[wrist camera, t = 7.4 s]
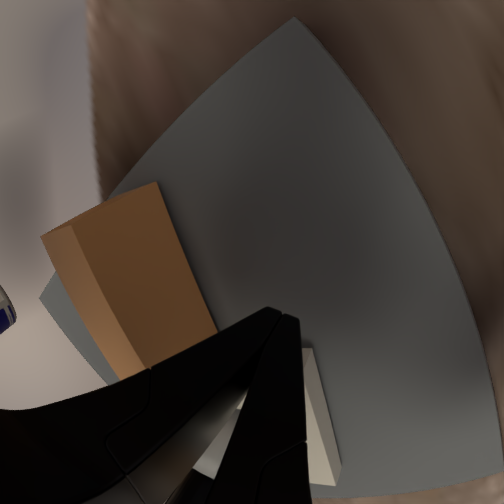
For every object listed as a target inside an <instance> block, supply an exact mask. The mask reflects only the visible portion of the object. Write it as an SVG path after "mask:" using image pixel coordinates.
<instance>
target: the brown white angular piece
mask: <svg viewBox="0 0 504 504" xmlns="http://www.w3.org/2000/svg"><path fill="white" fill-rule="evenodd" d="M41 239H42V241H43V244H44V245H45V248H46V250H47V253H48V255H49V257H50V259H51V261H52V263H53V265H54V267H55V270H56V272H57V274H58V276H59V278H60V280H61V282H62V284H63V286H64V288H65V290H66V292H67V293H68V295H69V297H70V299H71V301H72V303H73V305H74V306H75V308H76V310H77V312H78V314H79V315H80V317H81V319H82V321H83V322H84V324H85V326H86V328H87V329H88V331H89V333H90V334H91V336H92V338H93V339H94V341H95V343H96V344H97V346H98V347H99V349H100V351H101V352H102V354H103V355H104V357H105V358H106V360H107V361H108V363H109V364H110V366H111V367H112V369H113V370H114V372H115V373H116V375H117V376H118V378H119V379H120V381H121V380H123V379H125V378H127V377H130V376H132V375H134V374H136V373H138V372H140V371H142V370H144V369H146V368H150V370H151V366H153V365H155V364H157V363H159V362H161V361H163V360H165V359H167V358H169V357H171V356H173V355H175V354H177V353H179V352H181V351H183V350H185V349H187V348H189V347H191V346H193V345H195V344H197V343H199V342H200V341H202V340H204V339H206V338H208V337H210V336H212V335H214V334H216V333H218V331H217V329H216V327H215V325H214V322H213V320H212V318H211V316H210V313H209V311H208V309H207V307H206V304H205V302H204V300H203V297H202V295H201V293H200V290H199V288H198V286H197V283H196V281H195V279H194V276H193V274H192V271H191V269H190V267H189V264H188V262H187V259H186V257H185V254H184V252H183V249H182V247H181V244H180V242H179V239H178V237H177V234H176V232H175V229H174V227H173V224H172V222H171V219H170V216H169V214H168V211H167V209H166V206H165V203H164V201H163V198H162V195H161V193H160V190H159V187H158V185H157V182H156V181H155V182H153V183H150V184H147V185H144V186H141V187H139V188H136V189H133V190H130V191H128V192H125V193H122V194H120V195H117V196H115V197H113V198H111V199H109V200H107V201H105V202H103V203H101V204H99V205H97V206H95V207H93V208H91V209H90V210H88V211H86V212H84V213H82V214H80V215H78V216H76V217H74V218H72V219H71V220H69V221H67V222H65V223H63V224H62V225H60V226H58V227H56V228H54V229H53V230H51V231H49V232H47V233H46V234H44V235H42V236H41ZM302 354H303V369H304V386H305V404H306V425H307V441H306V443H307V445H308V467H309V482H310V483H313V484H321V485H330V486H336V484H337V481H338V478H339V475H340V472H341V468H342V466H341V462H340V458H339V453H338V449H337V445H336V441H335V437H334V433H333V428H332V424H331V420H330V416H329V412H328V408H327V404H326V400H325V396H324V392H323V389H322V385H321V381H320V377H319V373H318V369H317V365H316V362H315V358H314V354H313V350H312V348H302ZM245 397H246V396H245ZM245 397H244V399H245ZM244 399H243V400H242V402H241V403H240V404H239V406H238V407H237V409H241V408H242V405H243V402H244Z"/></svg>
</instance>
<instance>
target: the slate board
mask: <svg viewBox="0 0 504 504" xmlns="http://www.w3.org/2000/svg"><path fill="white" fill-rule="evenodd" d="M155 181H156V182H157V185H158V187H159V190H160V193H161V195H162V198H163V201H164V203H165V206H166V209H167V211H168V214H169V216H170V219H171V222H172V224H173V227H174V229H175V232H176V234H177V237H178V239H179V242H180V244H181V247H182V249H183V252H184V254H185V257H186V259H187V262H188V264H189V267H190V269H191V271H192V274H193V276H194V279H195V281H196V283H197V286H198V288H199V290H200V293H201V295H202V297H203V300H204V302H205V304H206V307H207V309H208V311H209V313H210V316H211V318H212V320H213V322H214V325H215V327H216V329H217V331H218V332H219V331H221V330H223V329H225V328H227V327H229V326H231V325H233V324H234V323H236V322H238V321H240V320H242V319H244V318H246V317H247V316H249V315H251V314H253V313H255V312H256V311H258V310H260V309H262V308H264V307H266V306H270V307H272V308H275V309H277V310H280V311H281V312H282V314H284V313H287V314H290V315H292V316H294V317H297V318H299V320H300V326H301V340H302V348H312V350H313V354H314V358H315V362H316V365H317V369H318V373H319V377H320V381H321V385H322V389H323V392H324V396H325V400H326V404H327V408H328V412H329V416H330V420H331V424H332V428H333V433H334V437H335V441H336V445H337V449H338V453H339V458H340V462H341V466H342V468H341V472H340V475H339V478H338V481H337V484H336V486H330V485H321V484H313V483H310V489H311V497H312V498H356V497H373V496H384V495H394V494H403V493H410V492H417V491H423V490H429V489H435V488H440V487H445V486H450V485H455V484H459V483H463V482H467V481H471V480H475V479H479V478H483V477H486V476H489V475H493V474H496V473H499V472H502V471H504V453H503V444H502V436H501V429H500V422H499V416H498V410H497V404H496V399H495V394H494V389H493V384H492V380H491V375H490V371H489V367H488V363H487V359H486V355H485V352H484V348H483V344H482V341H481V337H480V334H479V331H478V327H477V324H476V321H475V318H474V315H473V312H472V309H471V306H470V303H469V300H468V297H467V294H466V292H465V289H464V286H463V283H462V281H461V278H460V276H459V273H458V270H457V268H456V265H455V263H454V261H453V258H452V256H451V253H450V251H449V249H448V246H447V244H446V242H445V240H444V237H443V235H442V233H441V231H440V229H439V226H438V224H437V222H436V220H435V218H434V216H433V214H432V212H431V210H430V208H429V206H428V204H427V202H426V200H425V198H424V196H423V194H422V192H421V190H420V188H419V187H418V185H417V183H416V181H415V179H414V177H413V175H412V174H411V172H410V170H409V168H408V167H407V165H406V163H405V161H404V160H403V158H402V156H401V155H400V153H399V151H398V150H397V148H396V146H395V145H394V143H393V141H392V140H391V138H390V137H389V135H388V133H387V132H386V130H385V129H384V127H383V126H382V124H381V123H380V121H379V119H378V118H377V116H376V115H375V113H374V112H373V111H372V109H371V108H370V106H369V105H368V103H367V102H366V100H365V99H364V98H363V96H362V95H361V93H360V92H359V91H358V89H357V88H356V87H355V85H354V84H353V82H352V81H351V80H350V78H349V77H348V76H347V75H346V73H345V72H344V71H343V69H342V68H341V67H340V66H339V64H338V63H337V62H336V60H335V59H334V58H333V57H332V56H331V54H330V53H329V52H328V51H327V49H326V48H325V47H324V46H323V45H322V44H321V42H320V41H319V40H318V39H317V38H316V37H315V35H314V34H313V33H312V32H311V31H310V30H309V29H308V27H307V26H306V25H305V24H304V23H302V22H301V21H300V20H299V19H297V18H296V17H295V16H294V17H293V18H291V19H290V20H289V21H287V22H286V23H285V24H283V25H282V26H281V27H279V28H278V29H277V30H275V31H274V32H273V33H271V34H270V35H269V36H268V37H266V38H265V39H264V40H263V41H261V42H260V43H259V44H258V45H257V46H255V47H254V48H253V49H252V50H250V51H249V52H248V53H247V54H246V55H245V56H243V57H242V58H241V59H240V60H239V61H238V62H236V63H235V64H234V65H233V66H232V67H231V68H230V69H228V70H227V71H226V72H225V73H224V74H223V75H222V76H221V77H219V78H218V79H217V80H216V81H215V82H214V83H213V84H212V85H211V86H210V87H209V88H208V89H207V90H206V91H204V92H203V93H202V94H201V95H200V96H199V97H198V98H197V99H196V100H195V101H194V102H193V103H192V104H191V105H190V106H189V107H188V108H187V109H186V110H185V111H184V112H183V113H182V114H181V115H180V116H179V117H178V118H177V119H176V120H175V121H174V122H173V123H172V124H171V125H170V127H169V128H168V129H167V130H166V131H165V132H164V133H163V134H162V135H161V136H160V137H159V138H158V139H157V140H156V142H155V143H154V144H153V145H152V146H151V147H150V148H149V149H148V150H147V152H146V153H145V154H144V155H143V156H142V157H141V158H140V160H139V161H138V162H137V163H136V164H135V165H134V167H133V168H132V169H131V170H130V171H129V172H128V174H127V175H126V176H125V177H124V178H123V180H122V181H121V182H120V183H119V185H118V186H117V187H116V188H115V190H114V191H113V192H112V193H111V195H110V196H109V197H108V198H107V200H109V199H111V198H113V197H115V196H117V195H120V194H122V193H125V192H128V191H130V190H133V189H136V188H139V187H141V186H144V185H147V184H150V183H153V182H155ZM107 200H106V201H107ZM39 299H40V300H41V302H42V303H43V305H44V306H45V308H46V309H47V310H48V312H49V313H50V315H51V316H52V317H53V319H54V320H55V321H56V323H57V324H58V325H59V327H60V328H61V329H62V331H63V332H64V333H65V335H66V336H67V337H68V338H69V340H70V341H71V342H72V343H73V345H74V346H75V347H76V349H77V350H78V351H79V352H80V353H81V355H82V356H83V357H84V358H85V359H86V361H87V362H88V363H89V364H90V365H91V366H92V368H93V369H94V370H95V371H96V372H97V373H98V374H99V376H100V377H101V378H102V379H103V380H104V381H105V382H106V383H107V384H108V385H111V384H114V383H116V382H118V381H120V379H119V378H118V376H117V375H116V373H115V372H114V370H113V369H112V367H111V366H110V364H109V363H108V361H107V360H106V358H105V357H104V355H103V354H102V352H101V351H100V349H99V347H98V346H97V344H96V343H95V341H94V339H93V338H92V336H91V334H90V333H89V331H88V329H87V328H86V326H85V324H84V322H83V321H82V319H81V317H80V315H79V314H78V312H77V310H76V308H75V306H74V305H73V303H72V301H71V299H70V297H69V295H68V293H67V292H66V290H65V288H64V286H63V284H62V282H61V280H60V278H59V276H58V274H57V272H55V273H54V275H53V276H52V278H51V279H50V281H49V283H48V284H47V286H46V288H45V289H44V291H43V292H42V294H41V296H40V298H39ZM240 410H241V409H236V410H235V411H234V413H233V414H232V416H231V417H230V418H229V420H228V421H227V422H226V424H225V425H224V427H223V428H222V429H221V431H220V432H219V433H218V435H217V436H216V437H215V439H214V440H213V441H212V443H211V444H210V445H209V447H208V448H207V449H206V451H205V452H204V453H203V455H202V456H201V457H200V459H199V460H198V461H197V462H196V464H195V465H194V466H193V468H194V469H195V470H197V471H199V472H200V473H202V474H204V475H206V476H208V477H210V478H212V479H213V480H214V478H215V476H216V473H217V471H218V468H219V466H220V463H221V461H222V458H223V455H224V453H225V450H226V448H227V445H228V442H229V440H230V437H231V435H232V432H233V429H234V427H235V424H236V421H237V419H238V416H239V413H240Z"/></svg>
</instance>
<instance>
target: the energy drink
mask: <svg viewBox="0 0 504 504" xmlns="http://www.w3.org/2000/svg"><path fill="white" fill-rule="evenodd" d="M15 322H16V312H15V310H14V307H13V305H12V303H11V301H10V299H9V297H8V296H7V294H6V292H5V291H4V289H3V288H2V287H1V285H0V334H1V333H3V332H4V331H5V330H6V329H8V328H9V327H10V326H11V325H13V324H14V323H15Z"/></svg>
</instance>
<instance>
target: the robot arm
mask: <svg viewBox="0 0 504 504" xmlns="http://www.w3.org/2000/svg"><path fill="white" fill-rule="evenodd" d="M245 396H246V397H245ZM244 397H245V399H244ZM243 399H244V402H243V405H242V408H241V410H240V413H239V416H238V419H237V421H236V424H235V427H234V429H233V432H232V435H231V437H230V440H229V442H228V445H227V448H226V450H225V453H224V455H223V458H222V461H221V463H220V466H219V468H218V471H217V473H216V476H215V478H214V480H213V479H212V478H210V477H208V476H206V475H204V474H202V473H200V472H199V471H197V470H195V469H194V468H193V466H194V465H195V464H196V462H197V461H198V460H199V459H200V457H201V456H202V455H203V453H204V452H205V451H206V449H207V448H208V447H209V445H210V444H211V443H212V441H213V440H214V439H215V437H216V436H217V435H218V433H219V432H220V431H221V429H222V428H223V427H224V425H225V424H226V422H227V421H228V420H229V418H230V417H231V416H232V414H233V413H234V411H235V410H236V409H237V407H238V406H239V404H240V403H241V402H242V400H243ZM306 441H307V425H306V404H305V386H304V369H303V354H302V340H301V326H300V320H299V318H297V317H294V316H292V315H290V314H287V313H284V314H282V312H281V311H280V310H277V309H275V308H272V307H270V306H266V307H264V308H262V309H260V310H258V311H256V312H255V313H253V314H251V315H249V316H247V317H246V318H244V319H242V320H240V321H238V322H236V323H234V324H233V325H231V326H229V327H227V328H225V329H223V330H221V331H219V332H218V333H216V334H214V335H212V336H210V337H208V338H206V339H204V340H202V341H200V342H199V343H197V344H195V345H193V346H191V347H189V348H187V349H185V350H183V351H181V352H179V353H177V354H175V355H173V356H171V357H169V358H167V359H165V360H163V361H161V362H159V363H157V364H155V365H153V366H151V370H150V368H146V369H144V370H142V371H140V372H138V373H136V374H134V375H132V376H130V377H127V378H125V379H123V380H121V381H118V382H116V383H114V384H111V385H108V386H106V387H103V388H100V389H97V390H94V391H91V392H88V393H85V394H82V395H78V396H75V397H72V398H69V399H65V400H62V401H59V402H55V403H52V404H48V405H44V406H41V407H37V408H32V409H25V410H5V409H0V504H163V503H164V502H165V501H166V500H167V501H166V502H165V504H312V497H311V489H310V482H309V467H308V445H307V443H306ZM168 497H169V498H168Z"/></svg>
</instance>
